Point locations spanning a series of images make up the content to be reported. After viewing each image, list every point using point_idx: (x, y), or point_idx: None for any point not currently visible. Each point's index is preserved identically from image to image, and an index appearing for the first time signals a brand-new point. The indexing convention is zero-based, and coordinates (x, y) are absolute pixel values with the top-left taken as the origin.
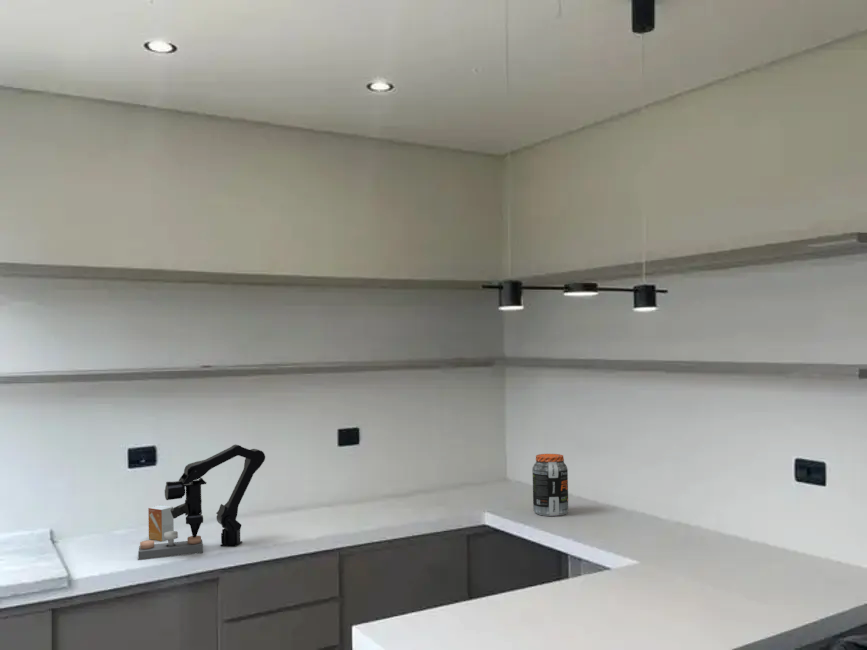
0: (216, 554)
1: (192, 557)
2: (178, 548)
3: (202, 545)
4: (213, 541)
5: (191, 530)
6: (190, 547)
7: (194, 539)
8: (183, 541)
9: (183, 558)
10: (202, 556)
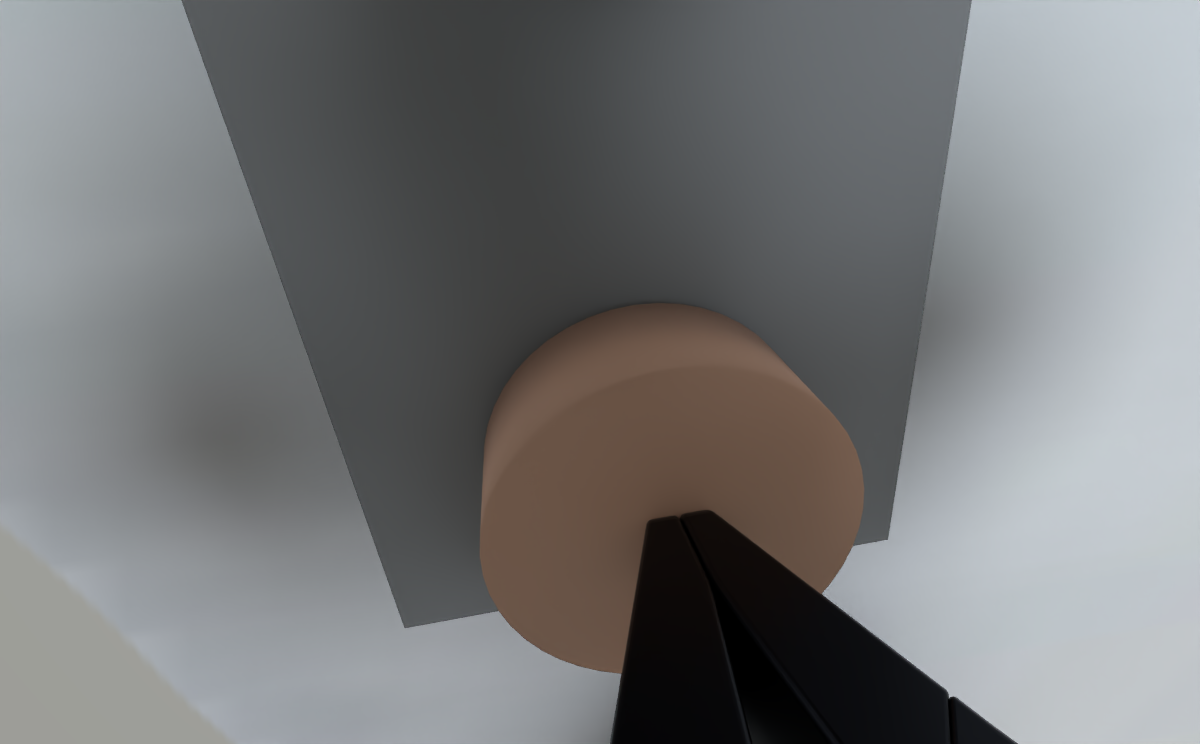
0: (285, 691)
1: (103, 394)
2: (221, 73)
3: (407, 611)
4: (1048, 546)
5: (612, 737)
6: (333, 393)
7: (486, 559)
8: (915, 159)
9: (9, 221)
10: (174, 542)
